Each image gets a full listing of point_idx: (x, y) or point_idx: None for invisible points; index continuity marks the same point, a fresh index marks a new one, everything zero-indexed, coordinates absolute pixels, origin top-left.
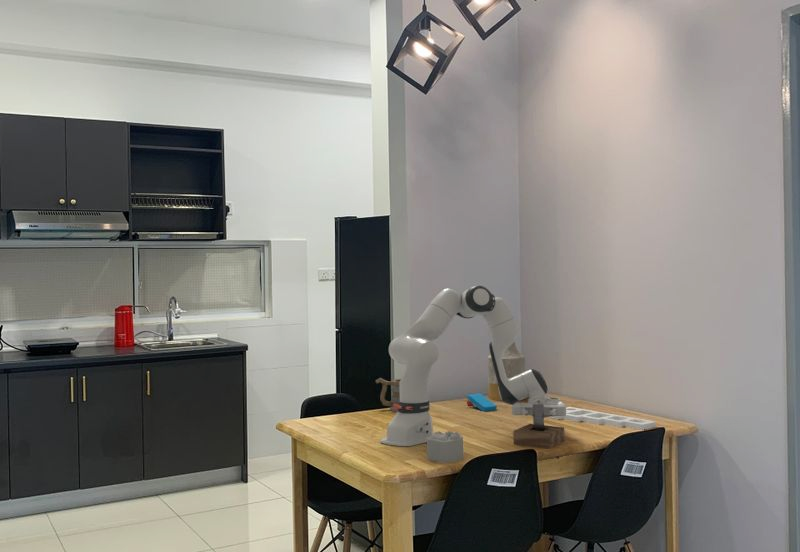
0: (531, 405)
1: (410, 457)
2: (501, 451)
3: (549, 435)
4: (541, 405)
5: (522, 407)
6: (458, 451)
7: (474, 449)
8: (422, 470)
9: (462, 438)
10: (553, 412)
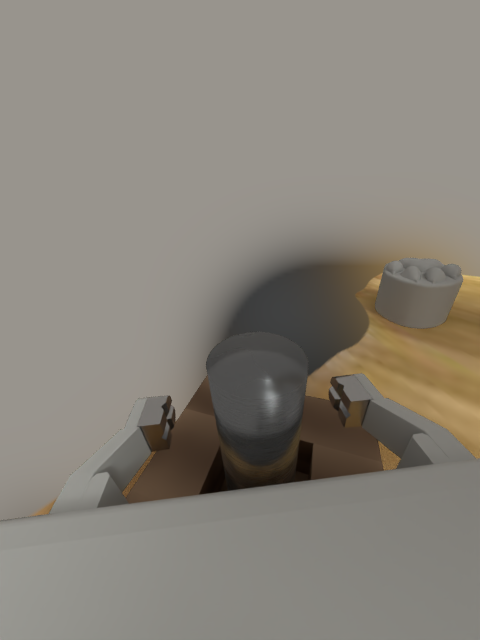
0: (404, 536)
1: (468, 301)
2: (338, 358)
3: (206, 380)
4: (225, 339)
5: (471, 462)
6: (378, 292)
7: (420, 360)
8: (378, 278)
9: (391, 279)
10: (143, 400)
